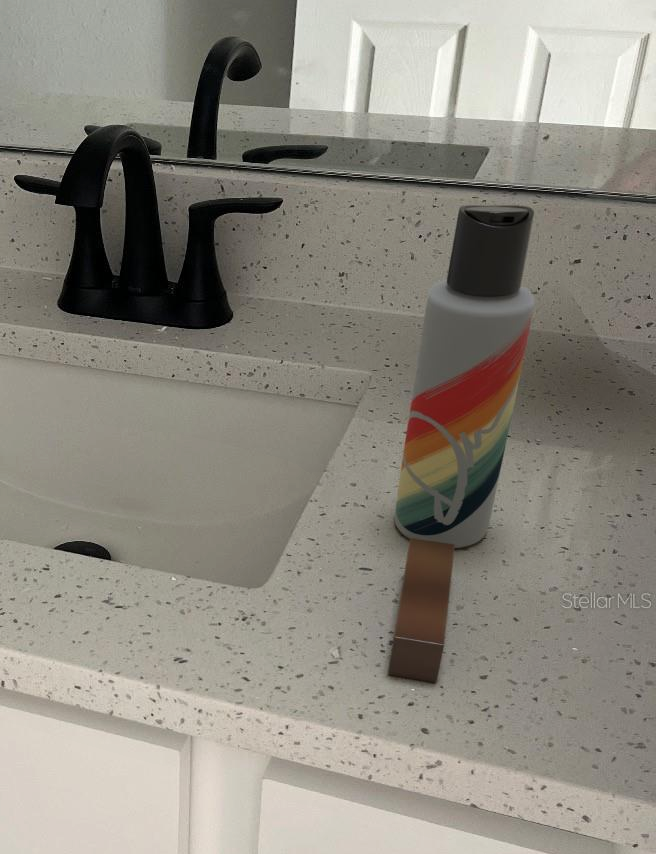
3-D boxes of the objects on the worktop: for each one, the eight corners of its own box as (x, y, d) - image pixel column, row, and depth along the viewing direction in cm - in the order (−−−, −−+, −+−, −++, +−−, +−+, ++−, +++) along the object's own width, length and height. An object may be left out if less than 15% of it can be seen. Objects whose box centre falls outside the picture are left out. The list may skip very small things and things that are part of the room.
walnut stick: (404, 573, 71) (410, 537, 69) (448, 579, 70) (455, 543, 68) (387, 675, 63) (393, 637, 61) (436, 683, 62) (443, 645, 61)
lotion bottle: (398, 548, 73) (450, 220, 61) (388, 501, 77) (435, 188, 66) (494, 552, 72) (565, 221, 61) (479, 504, 77) (542, 188, 65)
